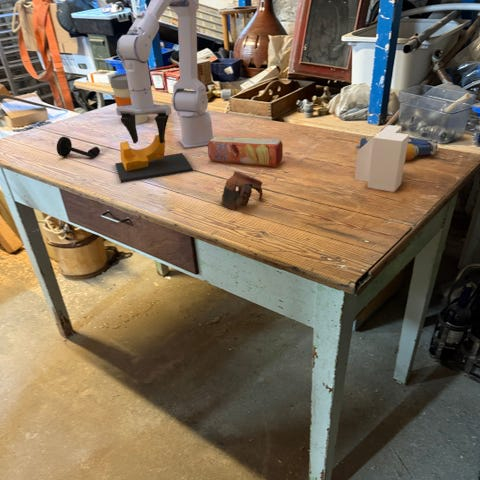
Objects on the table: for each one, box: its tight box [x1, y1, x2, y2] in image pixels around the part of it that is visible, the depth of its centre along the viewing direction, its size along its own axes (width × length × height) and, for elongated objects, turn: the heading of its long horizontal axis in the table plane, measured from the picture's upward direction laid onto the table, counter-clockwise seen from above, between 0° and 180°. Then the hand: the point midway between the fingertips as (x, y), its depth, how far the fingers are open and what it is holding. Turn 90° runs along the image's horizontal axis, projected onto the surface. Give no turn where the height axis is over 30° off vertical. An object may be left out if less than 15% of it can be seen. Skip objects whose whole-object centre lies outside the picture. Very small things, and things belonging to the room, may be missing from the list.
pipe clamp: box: [119, 134, 166, 171], centre depth 132 cm, size 12×4×6 cm, turn 119°
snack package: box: [207, 136, 284, 168], centre depth 133 cm, size 21×7×7 cm, turn 67°
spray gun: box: [355, 135, 439, 162], centre depth 133 cm, size 21×4×15 cm
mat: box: [115, 152, 194, 183], centre depth 135 cm, size 20×14×1 cm
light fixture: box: [56, 136, 101, 159], centre depth 147 cm, size 6×11×13 cm
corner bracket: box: [354, 124, 410, 193], centre depth 116 cm, size 11×11×12 cm
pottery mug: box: [221, 170, 263, 211], centre depth 111 cm, size 12×10×8 cm
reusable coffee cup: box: [109, 72, 148, 125], centre depth 170 cm, size 13×13×15 cm
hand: (149, 142), depth 130 cm, fingers open, 7 cm apart
